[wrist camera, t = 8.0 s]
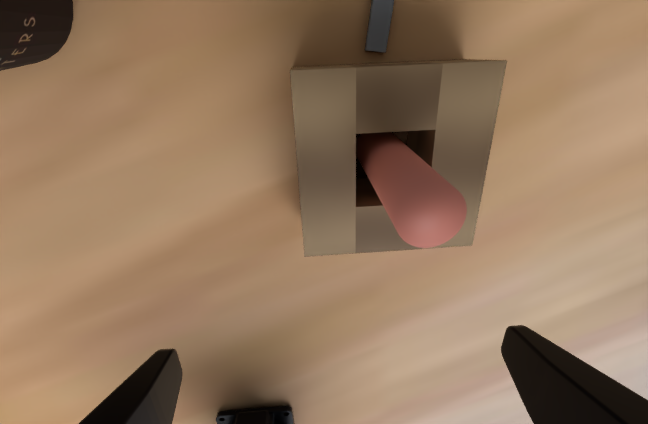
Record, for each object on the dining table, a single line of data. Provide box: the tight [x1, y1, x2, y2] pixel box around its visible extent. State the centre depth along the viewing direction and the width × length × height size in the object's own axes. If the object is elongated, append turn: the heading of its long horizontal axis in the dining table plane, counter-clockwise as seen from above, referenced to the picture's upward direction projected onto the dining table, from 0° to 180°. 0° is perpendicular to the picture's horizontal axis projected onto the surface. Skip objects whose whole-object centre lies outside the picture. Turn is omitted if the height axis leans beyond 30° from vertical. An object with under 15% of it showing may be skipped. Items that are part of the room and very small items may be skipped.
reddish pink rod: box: [356, 132, 467, 248], centre depth 15 cm, size 2×2×9 cm
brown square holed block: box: [290, 59, 507, 257], centre depth 17 cm, size 9×9×4 cm
